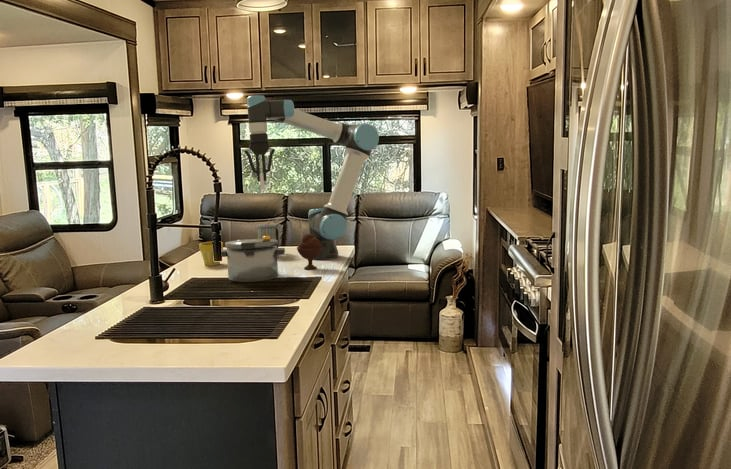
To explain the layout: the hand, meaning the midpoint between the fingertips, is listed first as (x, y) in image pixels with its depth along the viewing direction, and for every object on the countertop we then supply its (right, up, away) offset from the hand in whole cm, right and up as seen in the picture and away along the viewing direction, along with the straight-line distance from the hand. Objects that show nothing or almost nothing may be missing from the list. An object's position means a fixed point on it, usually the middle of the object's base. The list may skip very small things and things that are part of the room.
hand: (262, 188), depth 262 cm
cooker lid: (-2, -24, -14) cm, 28 cm away
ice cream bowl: (+20, -34, +1) cm, 40 cm away
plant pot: (-26, -33, +17) cm, 45 cm away
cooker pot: (-2, -37, -12) cm, 39 cm away
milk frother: (-6, -30, +37) cm, 48 cm away
